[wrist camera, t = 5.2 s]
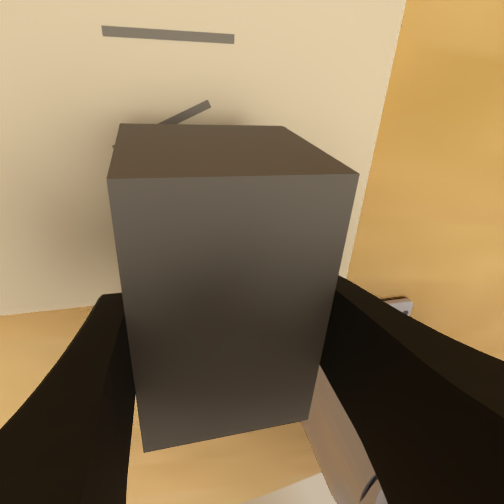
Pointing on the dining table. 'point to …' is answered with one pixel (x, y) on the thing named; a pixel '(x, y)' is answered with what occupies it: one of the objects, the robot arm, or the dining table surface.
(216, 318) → the block
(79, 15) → the board
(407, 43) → the dining table surface
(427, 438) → the robot arm
